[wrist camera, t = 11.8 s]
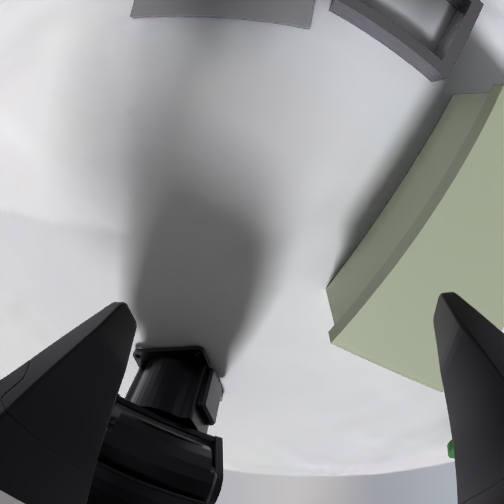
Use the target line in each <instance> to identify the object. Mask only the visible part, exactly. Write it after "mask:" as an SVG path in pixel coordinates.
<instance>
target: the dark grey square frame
mask: <svg viewBox="0 0 504 504" xmlns="http://www.w3.org/2000/svg"><path fill="white" fill-rule="evenodd" d="M447 1H448V2H449V3H451V4H452V5H453V6H454V7H455V8H456V9H457V11H456V13H455V15H454V17H453V18H452V20H451V22H450V24H449V26H448V28H447V30H446V32H445V34H444V35H443V37H442V39H441V41H440V43H439V45H438V46H437V48H436V50H435V52H434V54H433V53H432V52H431V51H430V50H429V49H427V48H426V47H425V46H424V45H423V44H421V43H420V42H419V41H418V40H416V39H415V38H414V37H412V36H411V35H410V34H408V33H407V32H406V31H404V30H403V29H402V28H400V27H399V26H398V25H396V24H395V23H393V22H392V21H390V20H389V19H388V18H386V17H385V16H383V15H382V14H380V13H379V12H377V11H376V10H374V9H372V8H371V7H369V6H368V5H366V4H364V3H363V2H361V1H359V0H334V1H333V3H332V5H331V7H330V9H329V11H331V12H333V13H334V14H336V15H338V16H340V17H341V18H343V19H345V20H347V21H348V22H350V23H352V24H353V25H355V26H356V27H358V28H360V29H361V30H363V31H364V32H366V33H367V34H369V35H370V36H372V37H373V38H375V39H376V40H378V41H379V42H381V43H382V44H384V45H385V46H387V47H388V48H389V49H391V50H392V51H393V52H395V53H396V54H398V55H399V56H400V57H402V58H403V59H404V60H405V61H407V62H408V63H409V64H411V65H412V66H413V67H414V68H416V69H417V70H418V71H419V72H420V73H422V74H423V75H424V76H425V77H426V78H428V79H429V80H430V81H431V82H433V81H439V80H444V79H447V77H448V76H449V74H450V72H451V70H452V68H453V66H454V64H455V62H456V60H457V59H458V57H459V55H460V53H461V51H462V49H463V47H464V45H465V43H466V41H467V39H468V37H469V35H470V33H471V30H472V28H473V26H474V24H475V22H476V20H477V18H478V16H479V13H480V11H481V9H482V7H483V5H484V4H483V3H482V2H481V1H480V0H447Z"/></svg>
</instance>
